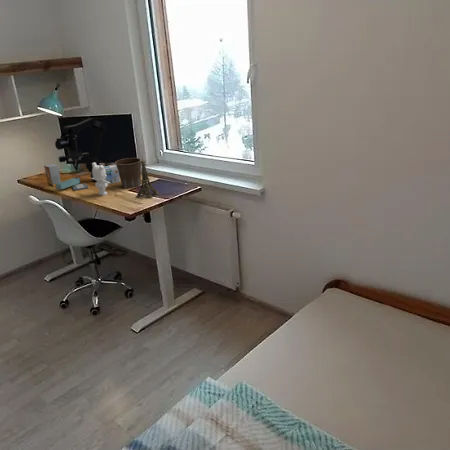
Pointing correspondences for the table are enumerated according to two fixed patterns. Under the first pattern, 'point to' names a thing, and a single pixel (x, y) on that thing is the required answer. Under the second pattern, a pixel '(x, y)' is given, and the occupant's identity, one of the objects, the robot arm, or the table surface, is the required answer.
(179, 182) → the table surface
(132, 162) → the plant pot
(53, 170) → the small box
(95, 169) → the white bear figurine
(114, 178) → the light bulb box
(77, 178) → the swing arm
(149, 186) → the eiffel tower
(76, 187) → the label panel
